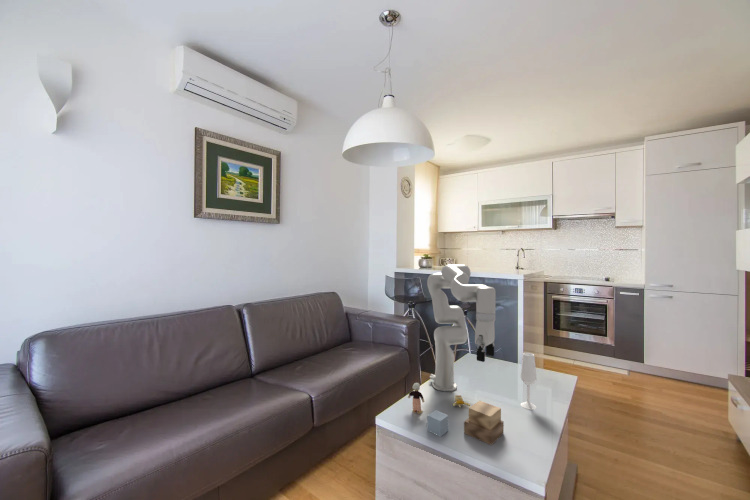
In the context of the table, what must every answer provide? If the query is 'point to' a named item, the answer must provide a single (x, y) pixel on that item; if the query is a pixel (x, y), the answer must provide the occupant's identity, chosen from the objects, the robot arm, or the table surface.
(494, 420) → the tower top
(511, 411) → the table surface
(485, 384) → the table surface
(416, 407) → the grandmother figurine
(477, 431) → the tower bottom
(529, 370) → the champagne flute
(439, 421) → the blue cube
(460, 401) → the character toy
